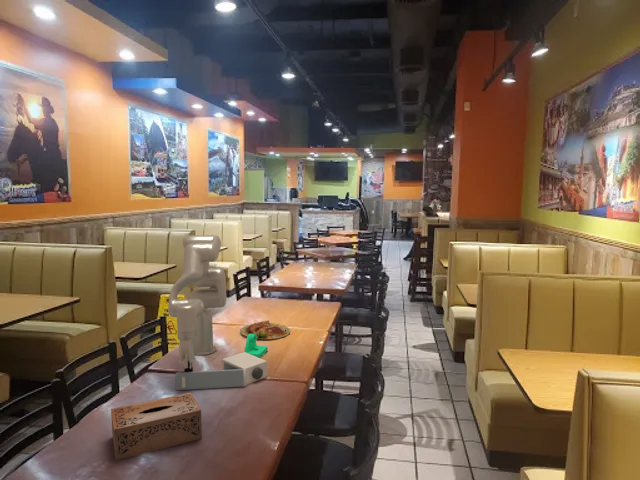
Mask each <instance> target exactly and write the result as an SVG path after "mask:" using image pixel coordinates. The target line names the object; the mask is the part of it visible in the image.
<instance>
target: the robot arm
mask: <svg viewBox="0 0 640 480" xmlns="http://www.w3.org/2000/svg"><path fill="white" fill-rule="evenodd" d="M182 246H183V248H184V251H183V262H182V273H181V276H180V277H179V278H178V279H177V280H176V281H175V282H174V284H173V285H172V286H171V289H170V291H169V296H168V304H167V307H168V311H167V312H168V315H169V316H170V317H172V318H176V329H177V340H178V341H179V349H178V350H179V351H178V352H179V353H178V354H179V357H178V363H179V365H182V364H183V372H194V369H193V368H194V367H193V362H194V358H195V356H206V355H211V354H214V353H215V352H216V351H217V347H216V346H215V345H214V336H213V335H214V333H213V329H214V328H213V315H212V312H210V310H209V309H221V308H224V307H225V306H226V304H227V280H226V279H227V278H226V272H225V270H224V268H222V267H218V266H214V267H213V266H212V267H211V266H210V262H211V263H212V262H213V263H214V262H216V261H217V260H218V257H219V254H220V251H221V247H222V242H221V238H220V237H219V236H218V235H216V234H215V235H213V234H211V235H210V234H207V235H206V234H205V235H204V234H201V235H199V234H197V235H196V234H192V235H187V236H186V235H185V236H184V237H183V238H182ZM191 285H193V286H195V287H197V288H196V289H194V290H192V291H191V293H190V294H189V298H178V295H179V293H180V292H181V291H182V290H183V289H185V288H186V287H188V286H191ZM198 287H199V288H198ZM211 287H212V288H211ZM214 287H215V288H214Z"/></svg>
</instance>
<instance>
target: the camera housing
mask: <svg viewBox="0 0 640 480" xmlns="http://www.w3.org/2000/svg"><path fill="white" fill-rule="evenodd" d="M221 366H222V367H221V368H222V370H235V369H246V386H247V385H249V384H252V383H255V382H258V381H261V380H262V379H264V378H265V379H266V378H267V377H268V360H265V359H263V358H262V357H259V358H258V357H256V356H253V355H251V354H248V353H246V352H244V351H243V352H240V353H237V354H234V355H231V356H228V357H224V358H222V360H221Z"/></svg>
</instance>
